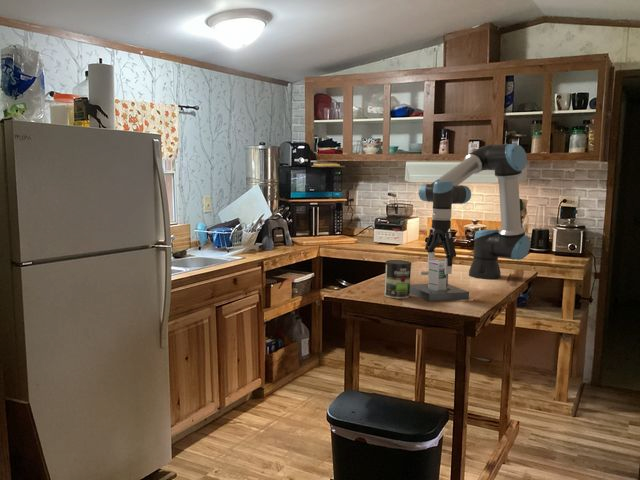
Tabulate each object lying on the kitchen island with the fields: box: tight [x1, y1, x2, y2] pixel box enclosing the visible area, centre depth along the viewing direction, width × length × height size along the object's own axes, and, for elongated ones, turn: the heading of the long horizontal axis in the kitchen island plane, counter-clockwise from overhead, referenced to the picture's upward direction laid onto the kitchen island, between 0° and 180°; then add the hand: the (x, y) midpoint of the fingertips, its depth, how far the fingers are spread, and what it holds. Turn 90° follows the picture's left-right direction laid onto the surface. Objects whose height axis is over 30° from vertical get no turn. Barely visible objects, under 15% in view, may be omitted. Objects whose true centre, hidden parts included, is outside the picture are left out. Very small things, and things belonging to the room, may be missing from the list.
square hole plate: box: [410, 283, 470, 303], centre depth 226 cm, size 18×18×3 cm
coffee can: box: [384, 259, 412, 300], centre depth 223 cm, size 10×10×14 cm
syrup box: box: [427, 259, 449, 291], centre depth 226 cm, size 6×6×14 cm
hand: (439, 270), depth 225 cm, fingers open, 13 cm apart
